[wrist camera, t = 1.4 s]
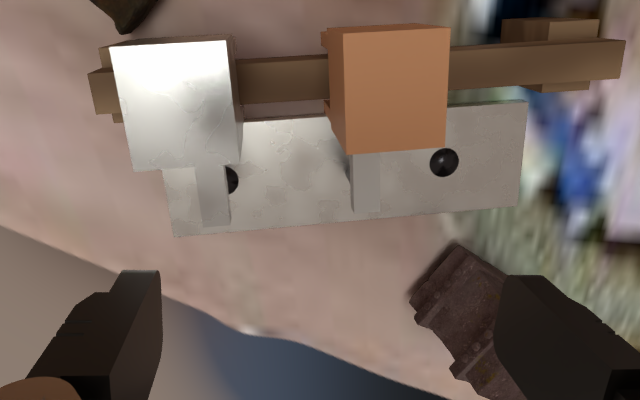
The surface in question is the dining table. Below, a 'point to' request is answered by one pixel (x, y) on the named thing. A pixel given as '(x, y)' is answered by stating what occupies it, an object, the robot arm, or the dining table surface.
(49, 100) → the dining table surface
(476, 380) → the hammer
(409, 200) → the bolt plate
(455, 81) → the beam
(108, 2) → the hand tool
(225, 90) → the block
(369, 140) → the block
